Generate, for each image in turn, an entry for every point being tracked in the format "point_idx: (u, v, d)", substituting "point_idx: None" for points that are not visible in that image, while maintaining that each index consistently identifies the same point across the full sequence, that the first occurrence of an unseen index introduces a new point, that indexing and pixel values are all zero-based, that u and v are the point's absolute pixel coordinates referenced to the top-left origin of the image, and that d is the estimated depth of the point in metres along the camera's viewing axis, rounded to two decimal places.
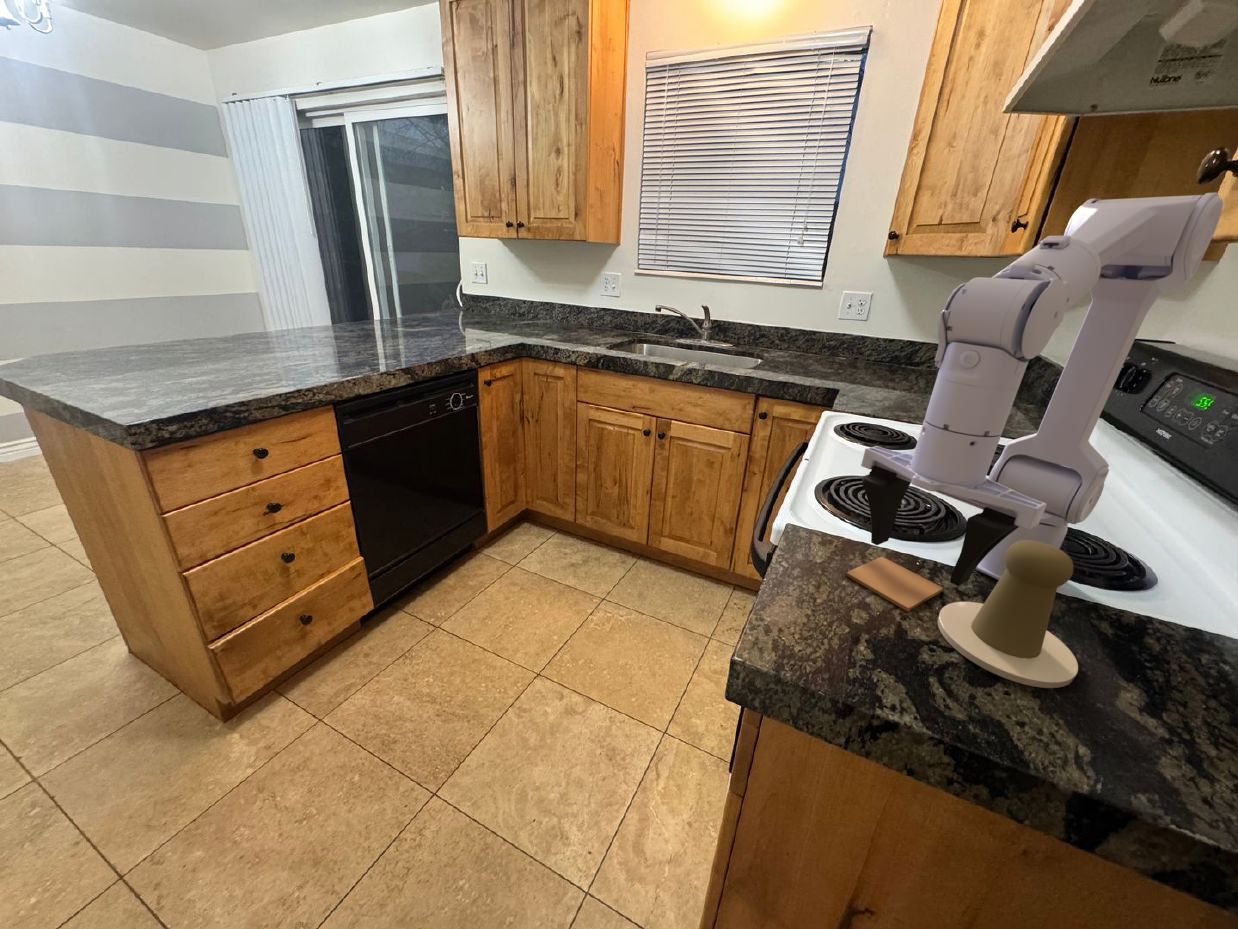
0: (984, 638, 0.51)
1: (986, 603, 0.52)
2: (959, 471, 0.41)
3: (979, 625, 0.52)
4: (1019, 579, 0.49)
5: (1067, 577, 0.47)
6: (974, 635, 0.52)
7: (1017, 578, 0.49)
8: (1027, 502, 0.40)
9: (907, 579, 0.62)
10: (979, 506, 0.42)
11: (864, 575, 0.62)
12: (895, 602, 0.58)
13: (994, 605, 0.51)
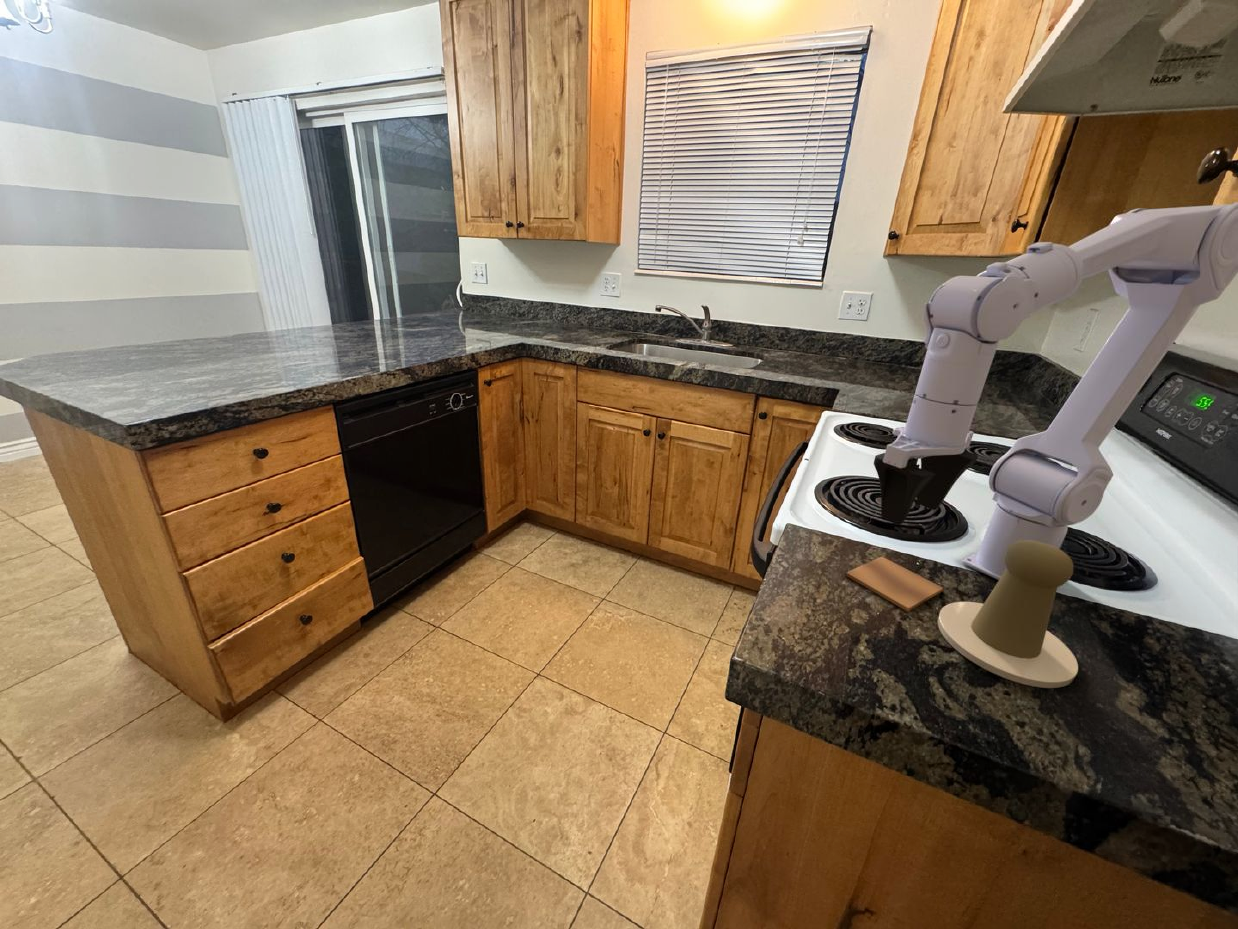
0: (984, 638, 0.51)
1: (986, 603, 0.52)
2: (907, 423, 0.54)
3: (979, 625, 0.52)
4: (1019, 579, 0.49)
5: (1067, 577, 0.47)
6: (974, 635, 0.52)
7: (1017, 578, 0.49)
8: (899, 446, 0.50)
9: (907, 579, 0.62)
10: None
11: (864, 575, 0.62)
12: (895, 602, 0.58)
13: (994, 605, 0.51)
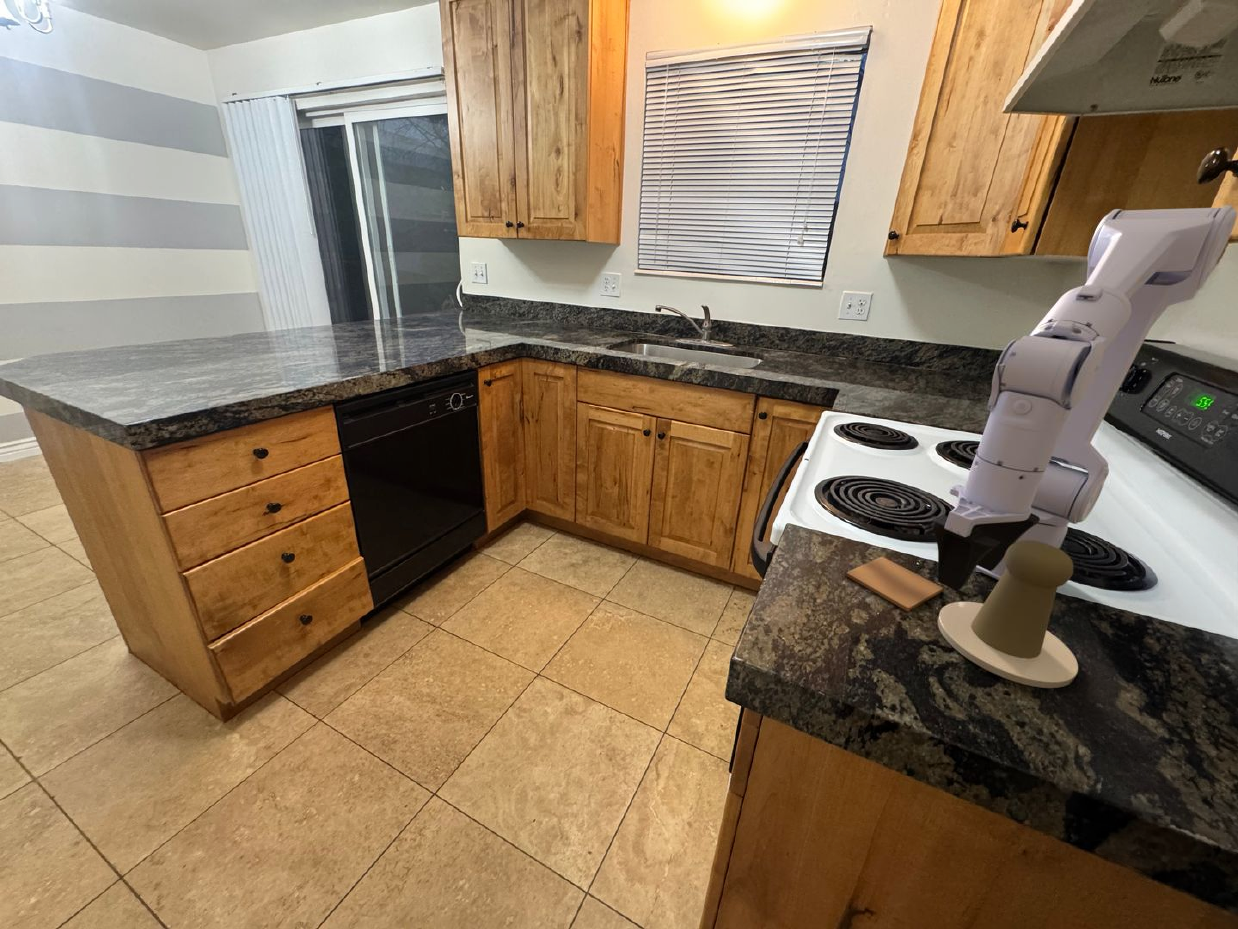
0: (984, 638, 0.51)
1: (986, 603, 0.52)
2: (967, 484, 0.51)
3: (979, 625, 0.52)
4: (1019, 579, 0.49)
5: (1067, 577, 0.47)
6: (974, 635, 0.52)
7: (1017, 578, 0.49)
8: (963, 513, 0.48)
9: (907, 579, 0.62)
10: None
11: (864, 575, 0.62)
12: (895, 602, 0.58)
13: (994, 605, 0.51)
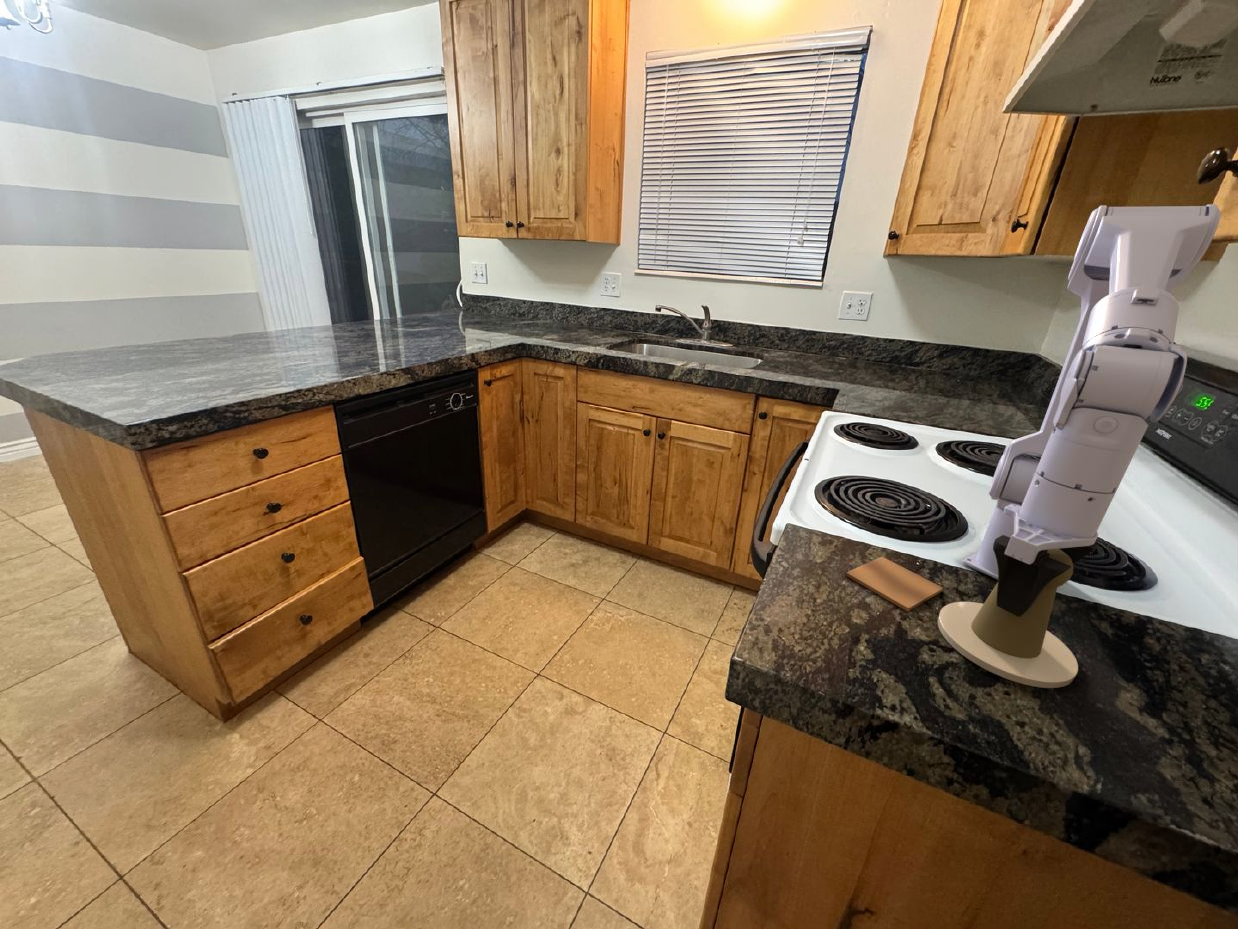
0: (984, 638, 0.51)
1: (986, 603, 0.52)
2: (1025, 504, 0.47)
3: (979, 625, 0.52)
4: None
5: (1067, 577, 0.47)
6: (974, 635, 0.52)
7: None
8: (1026, 538, 0.44)
9: (907, 579, 0.62)
10: None
11: (864, 575, 0.62)
12: (895, 602, 0.58)
13: (994, 605, 0.51)
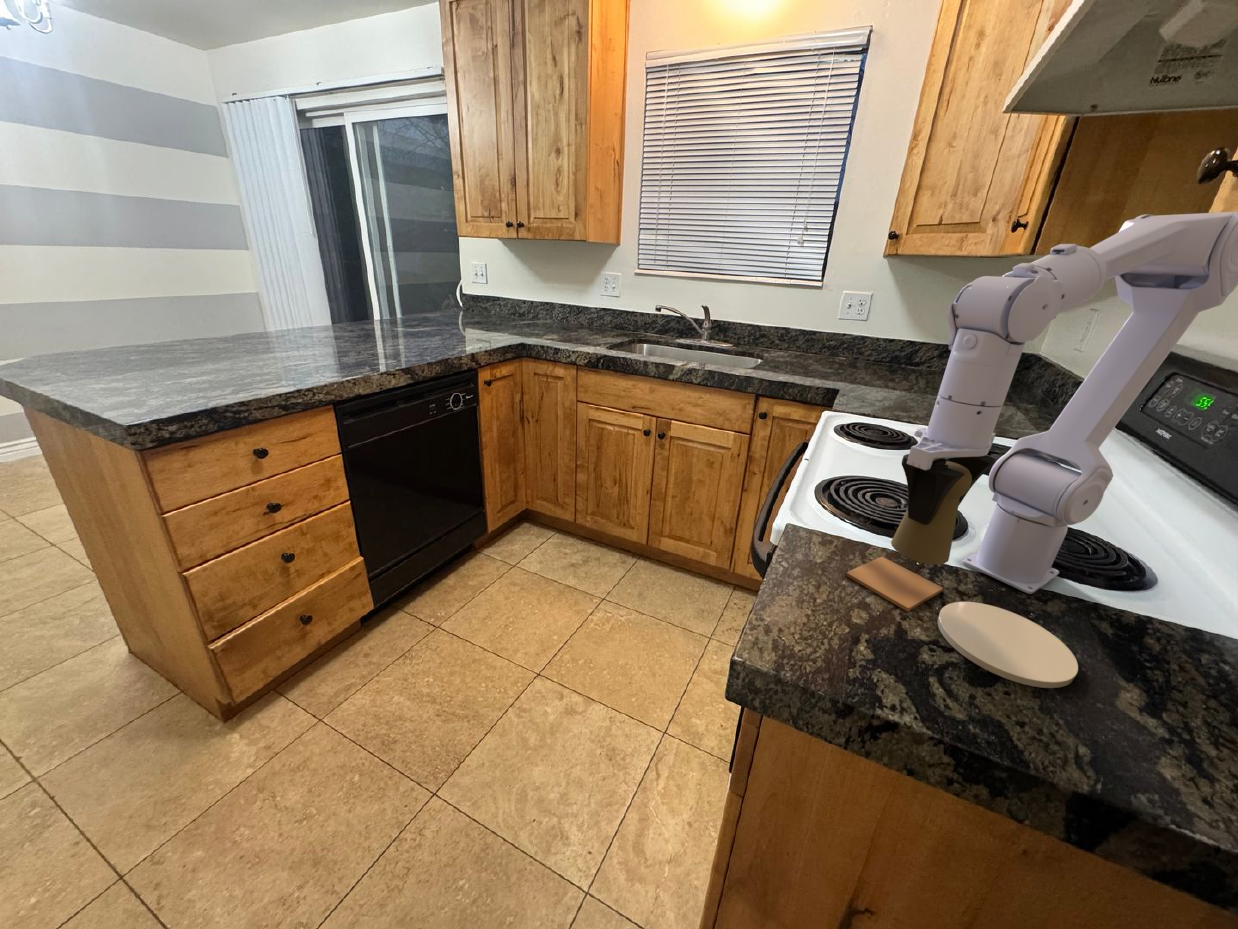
0: (899, 549, 0.57)
1: (902, 519, 0.58)
2: (930, 424, 0.53)
3: (896, 539, 0.58)
4: None
5: (965, 487, 0.53)
6: (974, 635, 0.52)
7: None
8: (924, 448, 0.50)
9: (907, 579, 0.62)
10: None
11: (864, 575, 0.62)
12: (895, 602, 0.58)
13: (907, 518, 0.57)
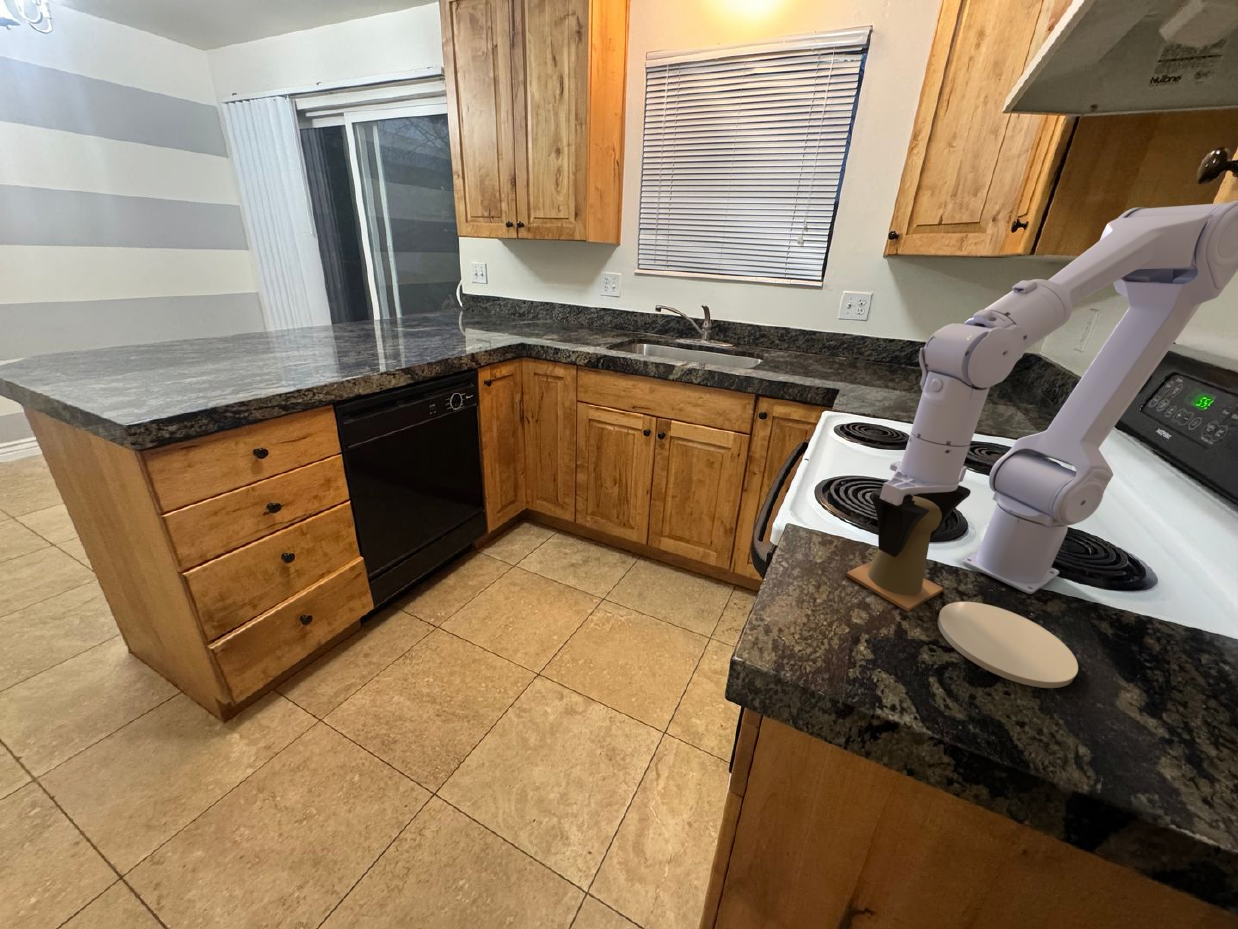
0: (875, 580, 0.61)
1: (878, 551, 0.61)
2: (903, 459, 0.56)
3: (872, 569, 0.62)
4: None
5: (935, 524, 0.56)
6: (974, 635, 0.52)
7: None
8: (896, 484, 0.53)
9: None
10: None
11: (864, 575, 0.62)
12: (895, 602, 0.58)
13: (882, 551, 0.60)
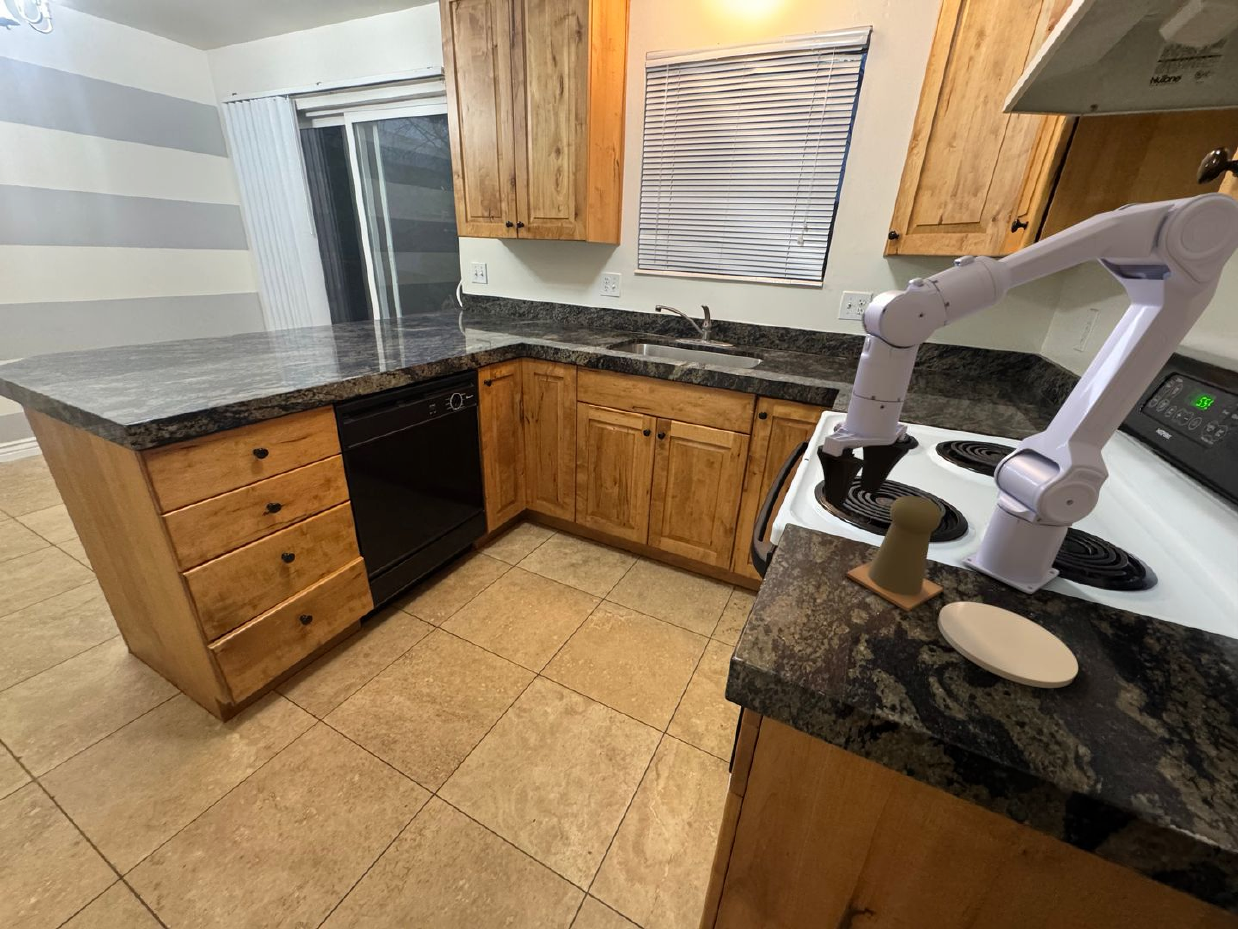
0: (875, 580, 0.61)
1: (878, 551, 0.61)
2: (846, 417, 0.62)
3: (872, 569, 0.62)
4: (899, 528, 0.58)
5: (935, 524, 0.56)
6: (974, 635, 0.52)
7: (898, 527, 0.58)
8: (836, 437, 0.58)
9: None
10: None
11: (864, 575, 0.62)
12: (895, 602, 0.58)
13: (882, 551, 0.60)
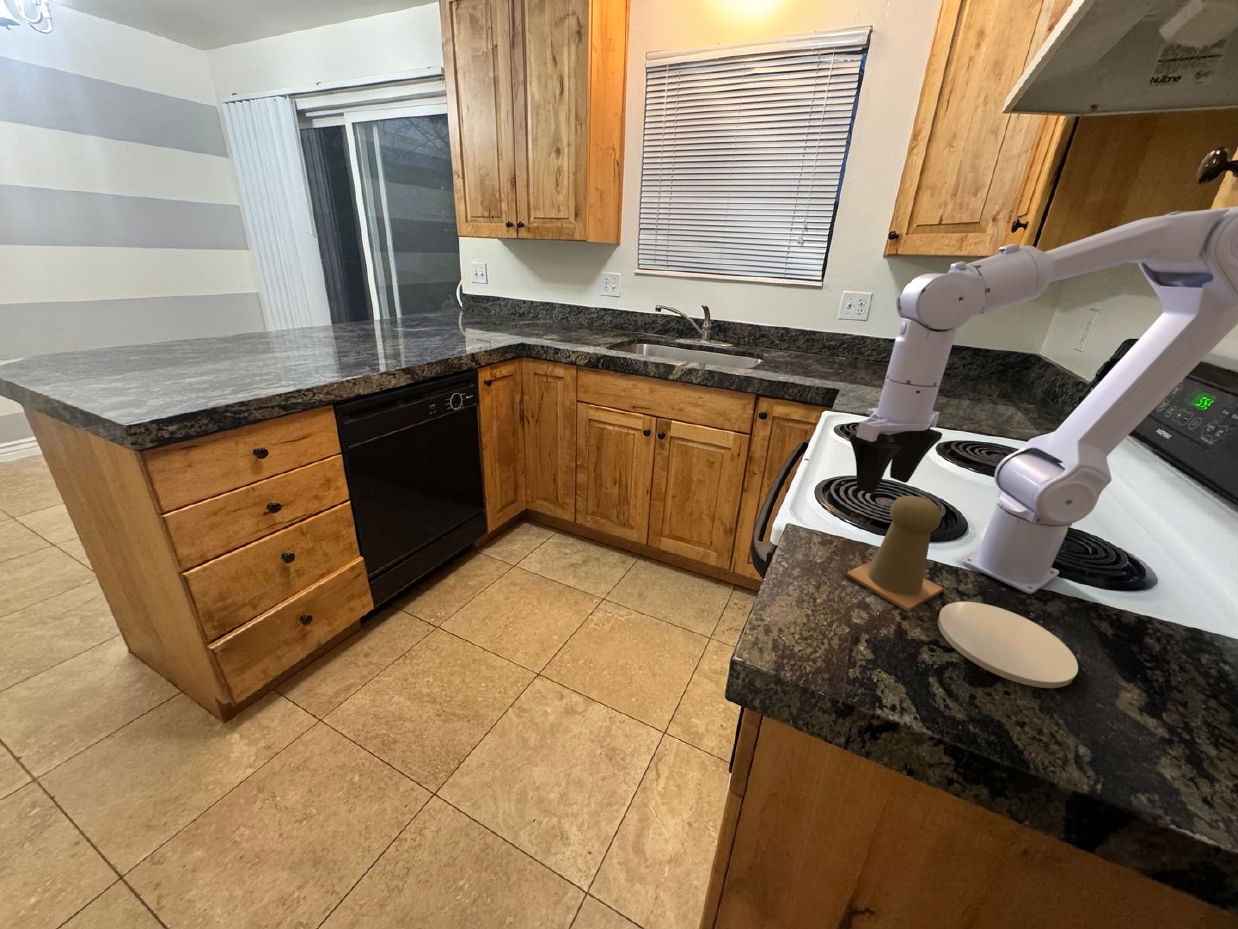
0: (875, 580, 0.61)
1: (878, 551, 0.61)
2: (879, 403, 0.61)
3: (872, 569, 0.62)
4: (899, 528, 0.58)
5: (935, 524, 0.56)
6: (974, 635, 0.52)
7: (898, 527, 0.58)
8: (871, 422, 0.57)
9: None
10: None
11: (864, 575, 0.62)
12: (895, 602, 0.58)
13: (882, 551, 0.60)
